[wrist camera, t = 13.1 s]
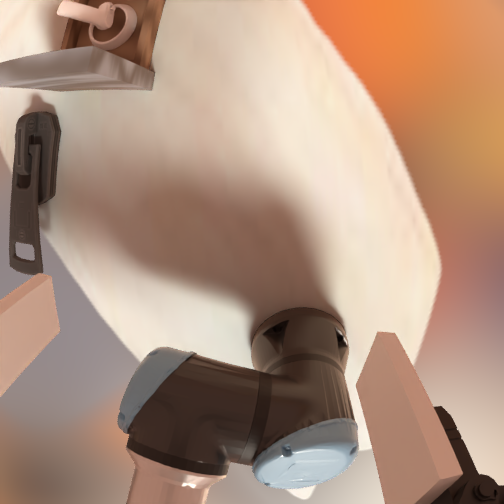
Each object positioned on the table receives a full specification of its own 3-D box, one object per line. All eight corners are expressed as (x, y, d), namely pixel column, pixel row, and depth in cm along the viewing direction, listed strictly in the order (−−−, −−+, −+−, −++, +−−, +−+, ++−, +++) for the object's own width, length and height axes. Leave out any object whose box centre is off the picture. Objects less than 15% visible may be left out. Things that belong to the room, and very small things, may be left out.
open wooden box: (151, 90, 36) (87, 71, 21) (60, 91, 36) (-15, 86, 21) (176, -16, 30) (133, -71, 15) (83, -5, 30) (21, -37, 15)
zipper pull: (7, 270, 40) (-3, 116, 32) (30, 255, 47) (24, 114, 38) (43, 279, 40) (35, 109, 31) (65, 263, 46) (62, 109, 38)
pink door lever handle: (53, 3, 26) (71, -22, 22) (120, 20, 35) (145, 0, 31) (39, 45, 27) (54, 21, 23) (111, 59, 36) (135, 41, 32)
